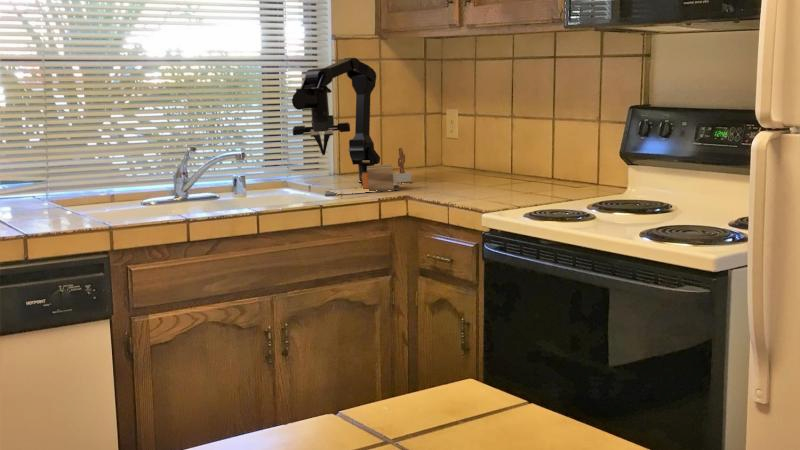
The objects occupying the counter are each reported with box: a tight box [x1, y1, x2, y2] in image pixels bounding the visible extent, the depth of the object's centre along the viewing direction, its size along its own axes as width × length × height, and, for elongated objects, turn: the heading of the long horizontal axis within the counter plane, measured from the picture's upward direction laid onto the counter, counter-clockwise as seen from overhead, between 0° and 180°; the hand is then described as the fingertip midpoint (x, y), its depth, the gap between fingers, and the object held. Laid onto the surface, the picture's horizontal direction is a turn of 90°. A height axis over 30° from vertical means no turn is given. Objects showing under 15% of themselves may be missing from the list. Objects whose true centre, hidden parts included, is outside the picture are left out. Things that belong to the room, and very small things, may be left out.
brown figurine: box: [397, 147, 412, 185], centre depth 310 cm, size 9×4×12 cm, turn 15°
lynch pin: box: [361, 171, 412, 189], centre depth 294 cm, size 5×16×5 cm, turn 93°
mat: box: [324, 184, 401, 197], centre depth 295 cm, size 11×24×1 cm, turn 93°
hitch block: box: [367, 163, 395, 191], centre depth 294 cm, size 10×8×7 cm
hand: (323, 155), depth 300 cm, fingers closed
